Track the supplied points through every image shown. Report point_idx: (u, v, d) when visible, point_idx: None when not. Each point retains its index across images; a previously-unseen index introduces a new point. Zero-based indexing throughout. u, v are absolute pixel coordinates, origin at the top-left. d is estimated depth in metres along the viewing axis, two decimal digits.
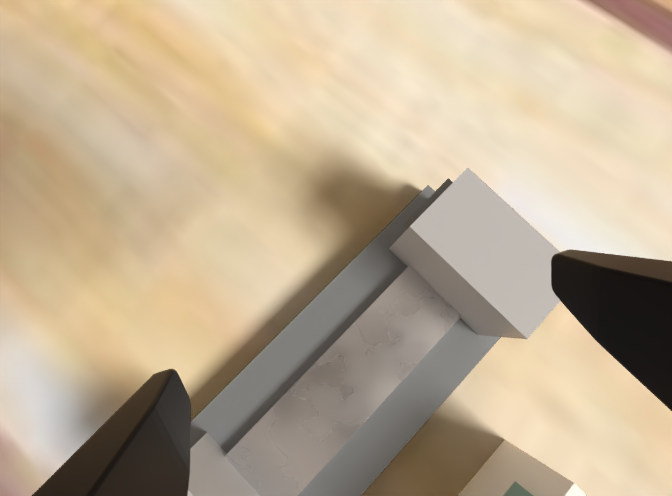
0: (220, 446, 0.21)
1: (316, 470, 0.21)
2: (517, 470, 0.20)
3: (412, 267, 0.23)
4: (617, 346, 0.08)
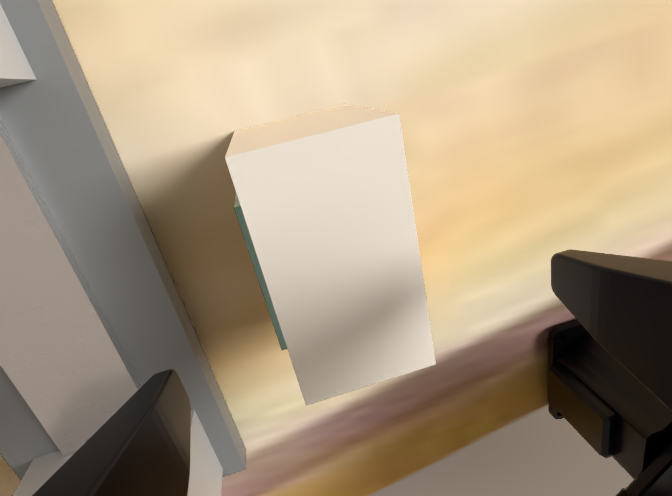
0: (57, 451, 0.18)
1: (128, 379, 0.17)
2: None
3: None
4: (617, 346, 0.08)
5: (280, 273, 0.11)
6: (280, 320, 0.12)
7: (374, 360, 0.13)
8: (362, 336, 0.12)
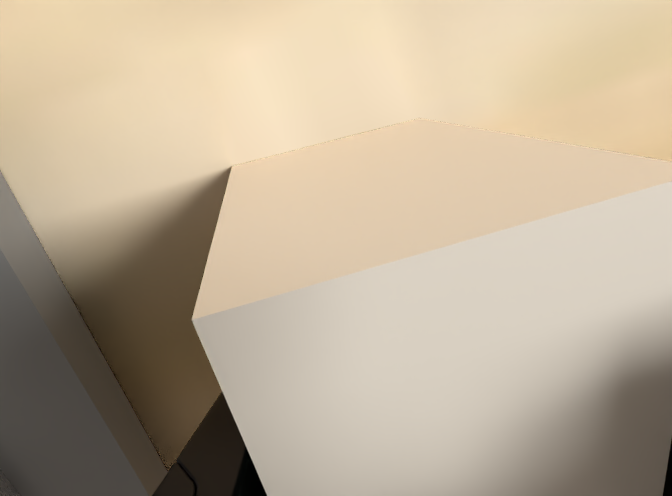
0: None
1: None
2: None
3: None
4: None
5: None
6: None
7: None
8: None
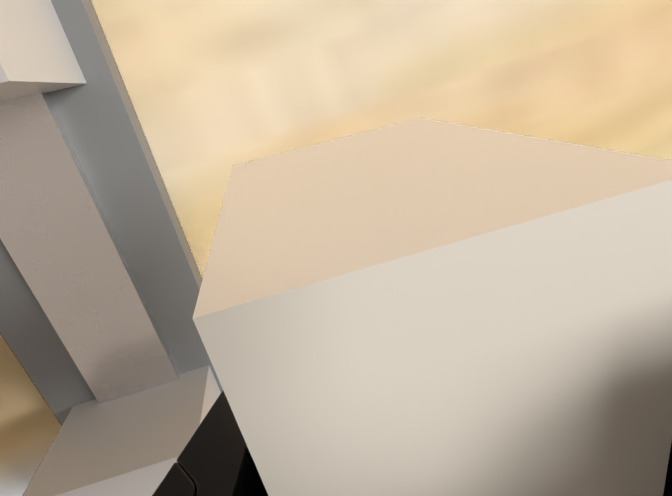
0: (93, 400, 0.21)
1: (154, 336, 0.20)
2: None
3: None
4: None
5: None
6: None
7: None
8: None
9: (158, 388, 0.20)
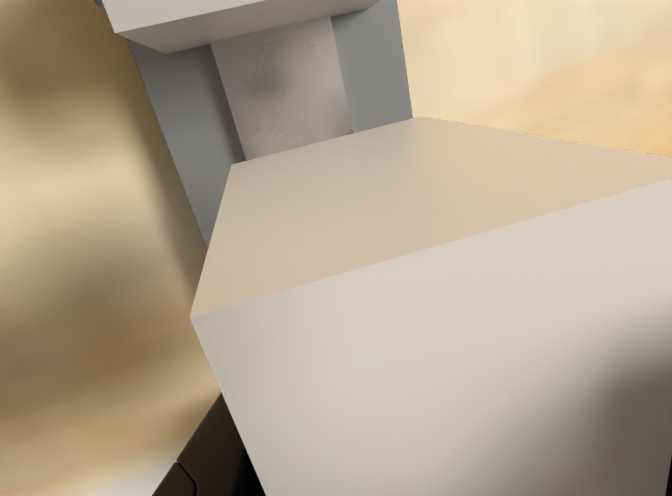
0: None
1: None
2: None
3: (215, 40, 0.13)
4: None
5: None
6: None
7: None
8: None
9: None
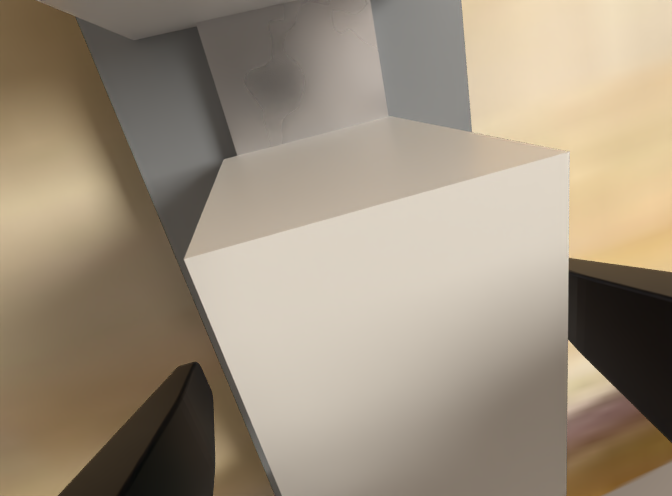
0: None
1: None
2: None
3: (203, 20, 0.09)
4: (595, 353, 0.08)
5: (304, 465, 0.06)
6: None
7: None
8: None
9: None
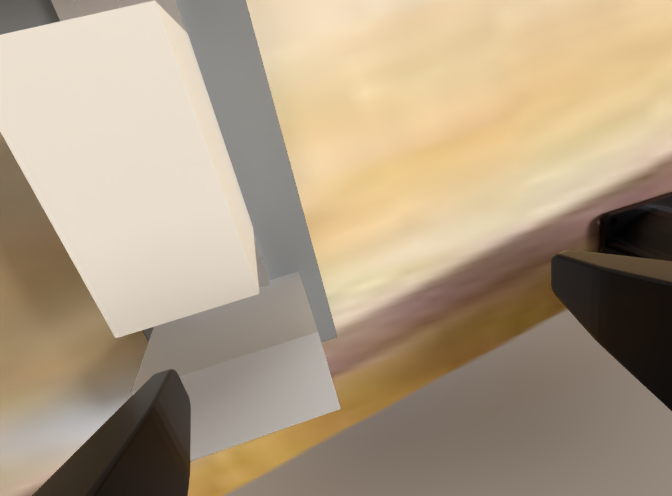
0: None
1: None
2: None
3: None
4: (617, 346, 0.08)
5: (50, 185, 0.10)
6: (63, 240, 0.11)
7: (186, 288, 0.12)
8: (165, 260, 0.12)
9: None
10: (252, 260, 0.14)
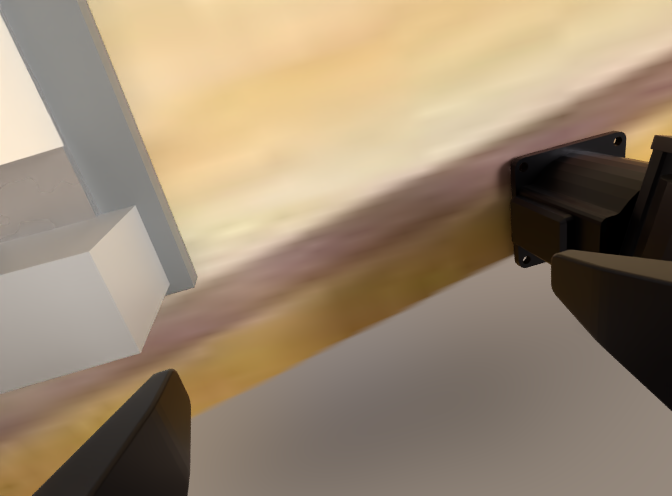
0: None
1: (61, 152, 0.16)
2: None
3: None
4: (617, 346, 0.08)
5: None
6: None
7: None
8: None
9: (70, 225, 0.17)
10: None
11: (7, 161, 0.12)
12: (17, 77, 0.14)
